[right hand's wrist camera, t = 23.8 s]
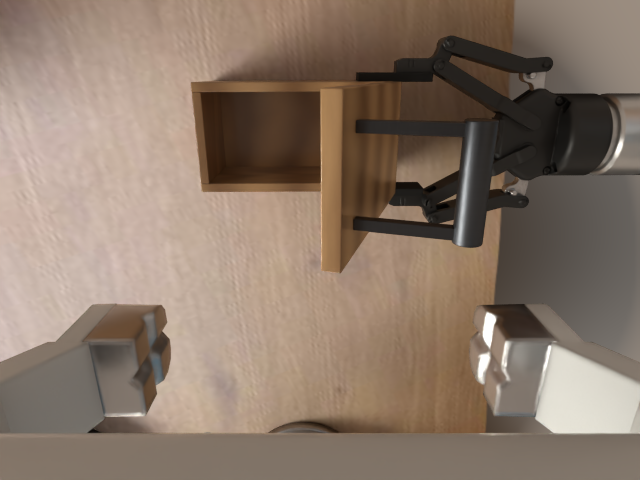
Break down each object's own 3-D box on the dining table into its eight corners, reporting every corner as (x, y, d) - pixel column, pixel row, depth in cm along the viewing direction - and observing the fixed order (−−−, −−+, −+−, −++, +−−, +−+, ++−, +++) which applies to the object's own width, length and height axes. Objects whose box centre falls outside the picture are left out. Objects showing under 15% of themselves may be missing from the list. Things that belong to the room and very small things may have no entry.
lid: (320, 271, 25) (478, 292, 22) (320, 88, 21) (507, 88, 19) (382, 192, 41) (478, 199, 38) (388, 81, 38) (492, 81, 35)
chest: (220, 172, 50) (201, 192, 41) (213, 80, 46) (190, 82, 38) (376, 171, 50) (388, 191, 41) (380, 79, 46) (393, 81, 38)
